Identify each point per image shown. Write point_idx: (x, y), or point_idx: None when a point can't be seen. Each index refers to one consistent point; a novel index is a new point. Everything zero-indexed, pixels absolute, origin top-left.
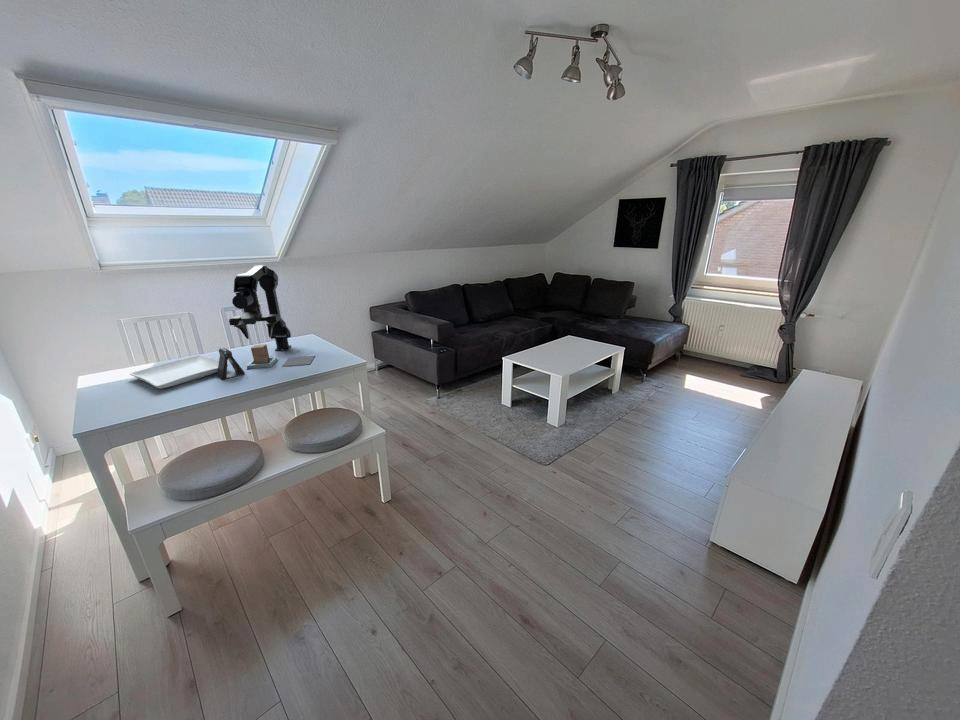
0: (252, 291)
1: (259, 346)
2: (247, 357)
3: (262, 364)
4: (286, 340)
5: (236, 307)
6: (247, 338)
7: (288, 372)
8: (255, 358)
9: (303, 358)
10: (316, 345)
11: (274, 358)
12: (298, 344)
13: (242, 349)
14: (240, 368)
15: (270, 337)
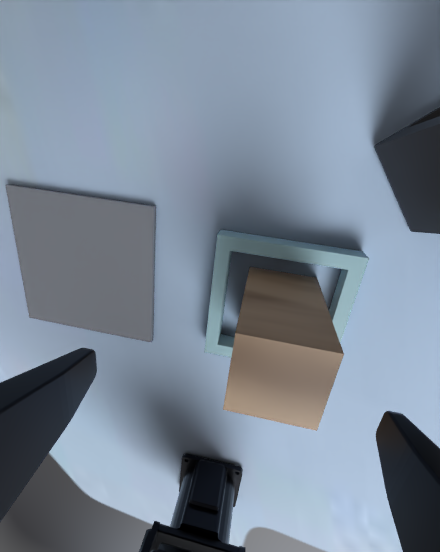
0: None
1: (269, 366)
2: (368, 437)
3: (265, 242)
4: (175, 512)
5: None
6: (395, 416)
7: (89, 68)
8: (310, 299)
9: (71, 294)
10: (77, 453)
11: (211, 327)
12: (156, 495)
13: (395, 544)
14: (415, 130)
15: (82, 349)
